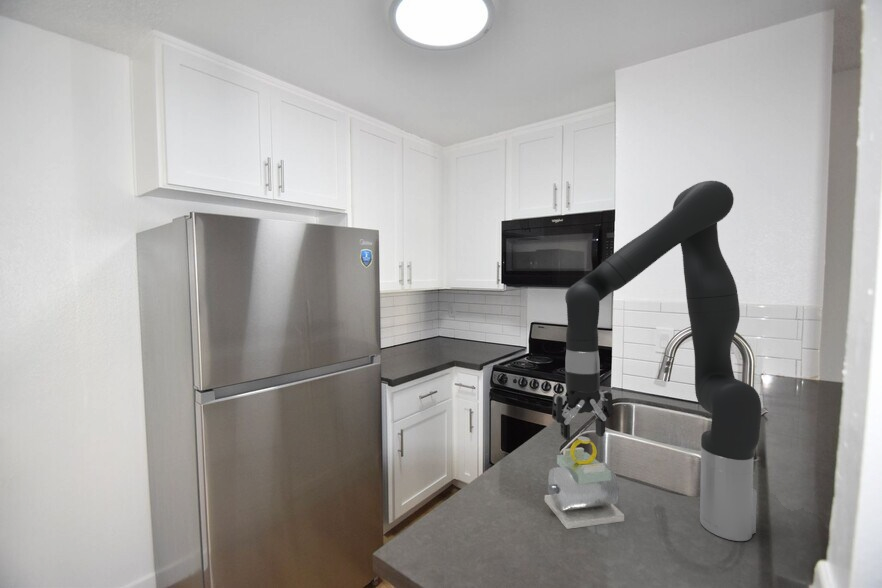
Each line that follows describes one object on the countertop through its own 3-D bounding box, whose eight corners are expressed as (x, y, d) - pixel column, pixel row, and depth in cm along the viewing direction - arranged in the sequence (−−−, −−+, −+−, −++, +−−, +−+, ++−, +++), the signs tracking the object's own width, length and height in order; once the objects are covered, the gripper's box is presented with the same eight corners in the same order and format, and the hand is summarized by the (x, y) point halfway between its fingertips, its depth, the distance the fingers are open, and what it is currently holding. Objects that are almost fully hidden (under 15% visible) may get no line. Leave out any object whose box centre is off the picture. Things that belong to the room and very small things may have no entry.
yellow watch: (591, 460, 94) (593, 436, 94) (597, 466, 91) (599, 440, 91) (567, 460, 93) (569, 435, 93) (573, 466, 90) (575, 440, 90)
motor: (596, 494, 99) (596, 444, 99) (624, 521, 88) (624, 464, 88) (539, 501, 96) (539, 449, 96) (560, 529, 86) (560, 471, 85)
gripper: (600, 363, 96) (601, 428, 97) (546, 367, 94) (547, 433, 94) (619, 370, 89) (620, 440, 90) (561, 374, 86) (562, 446, 87)
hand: (583, 437), depth 92 cm, fingers open, 8 cm apart
